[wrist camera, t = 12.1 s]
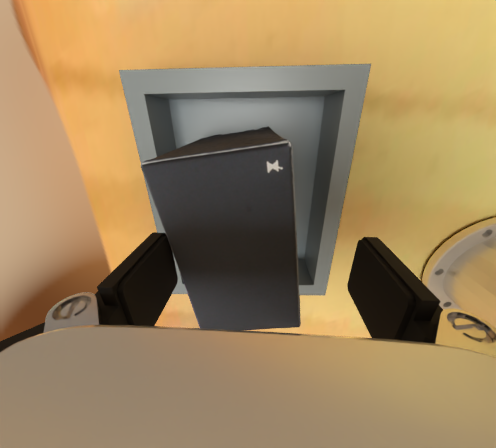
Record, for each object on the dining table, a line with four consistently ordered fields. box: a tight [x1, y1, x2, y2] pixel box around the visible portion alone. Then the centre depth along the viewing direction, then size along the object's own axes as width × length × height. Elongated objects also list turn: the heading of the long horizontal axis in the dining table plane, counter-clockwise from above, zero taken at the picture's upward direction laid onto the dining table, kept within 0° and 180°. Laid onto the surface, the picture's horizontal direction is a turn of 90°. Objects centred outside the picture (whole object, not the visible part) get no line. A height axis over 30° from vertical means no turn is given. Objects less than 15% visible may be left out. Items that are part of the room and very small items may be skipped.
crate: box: [119, 64, 371, 295], centre depth 18 cm, size 14×17×5 cm
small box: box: [141, 126, 300, 331], centre depth 15 cm, size 11×6×10 cm, turn 8°
